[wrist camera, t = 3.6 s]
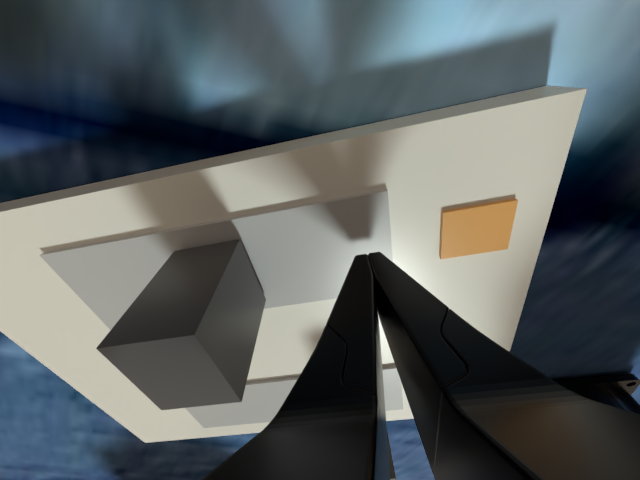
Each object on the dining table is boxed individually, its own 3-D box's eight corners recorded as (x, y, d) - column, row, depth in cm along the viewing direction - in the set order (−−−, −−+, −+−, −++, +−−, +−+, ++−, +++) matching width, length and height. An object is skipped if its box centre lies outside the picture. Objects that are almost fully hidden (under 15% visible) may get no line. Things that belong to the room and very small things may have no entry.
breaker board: (547, 85, 8) (593, 89, 7) (480, 387, 18) (494, 415, 17) (-71, 218, 11) (-129, 240, 10) (155, 419, 21) (143, 446, 19)
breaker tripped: (239, 239, 9) (194, 334, 6) (266, 299, 11) (241, 401, 8) (174, 250, 10) (96, 348, 6) (209, 308, 11) (161, 410, 8)
